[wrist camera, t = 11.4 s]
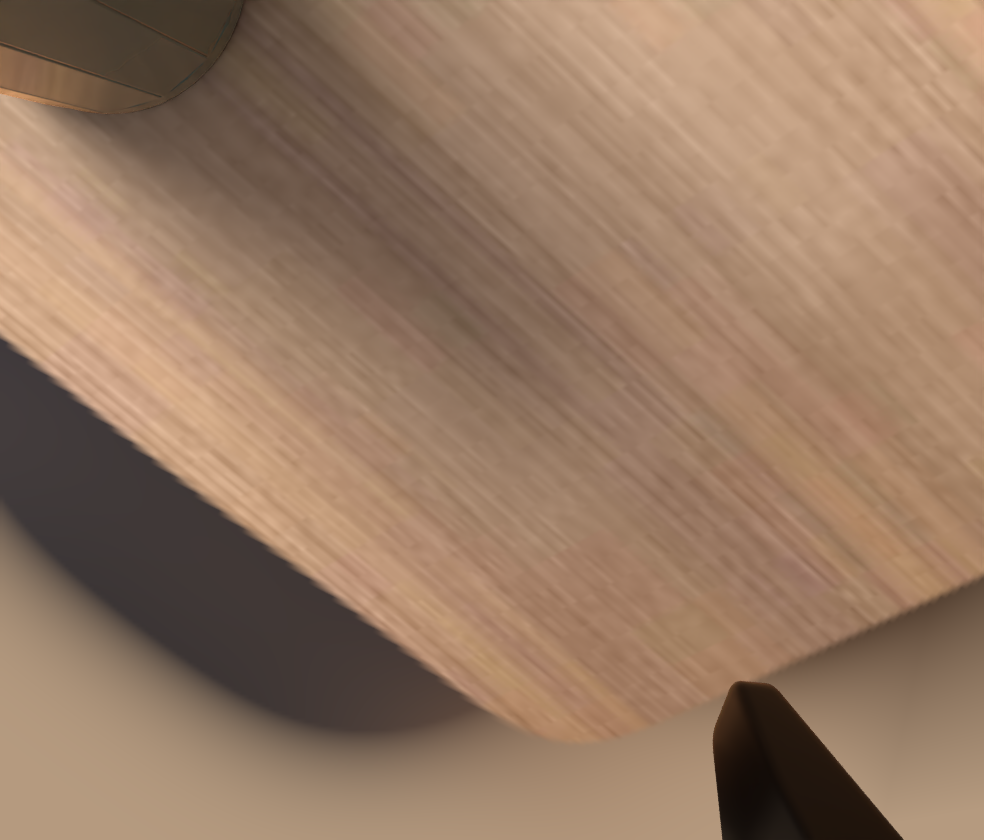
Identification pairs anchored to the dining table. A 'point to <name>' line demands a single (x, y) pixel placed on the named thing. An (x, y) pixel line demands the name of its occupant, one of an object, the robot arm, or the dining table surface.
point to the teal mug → (110, 50)
